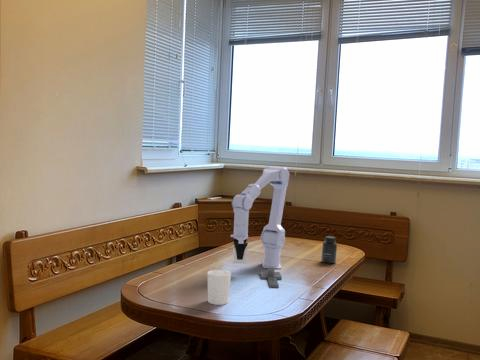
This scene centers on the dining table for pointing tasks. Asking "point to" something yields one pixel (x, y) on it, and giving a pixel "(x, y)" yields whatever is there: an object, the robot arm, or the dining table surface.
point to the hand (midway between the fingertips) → (239, 257)
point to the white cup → (218, 286)
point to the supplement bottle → (329, 250)
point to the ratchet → (271, 276)
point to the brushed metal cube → (236, 256)
